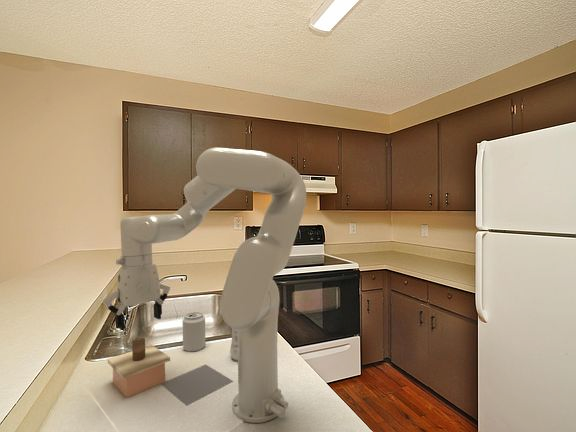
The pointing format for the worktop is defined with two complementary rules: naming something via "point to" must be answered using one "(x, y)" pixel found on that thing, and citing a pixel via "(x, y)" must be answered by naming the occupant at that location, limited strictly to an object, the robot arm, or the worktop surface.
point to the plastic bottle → (234, 345)
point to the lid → (138, 359)
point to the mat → (196, 384)
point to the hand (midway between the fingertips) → (140, 323)
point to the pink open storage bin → (139, 380)
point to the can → (194, 331)
